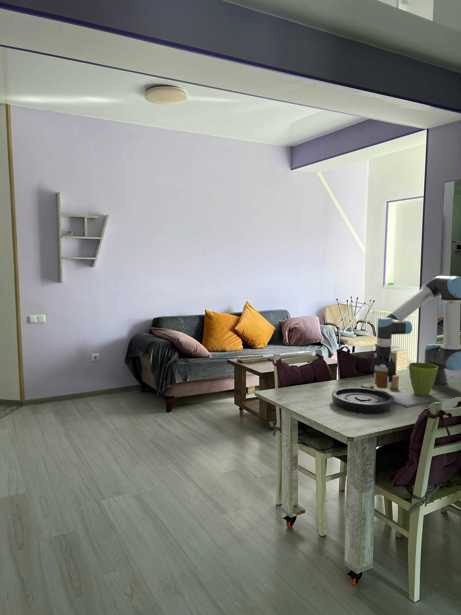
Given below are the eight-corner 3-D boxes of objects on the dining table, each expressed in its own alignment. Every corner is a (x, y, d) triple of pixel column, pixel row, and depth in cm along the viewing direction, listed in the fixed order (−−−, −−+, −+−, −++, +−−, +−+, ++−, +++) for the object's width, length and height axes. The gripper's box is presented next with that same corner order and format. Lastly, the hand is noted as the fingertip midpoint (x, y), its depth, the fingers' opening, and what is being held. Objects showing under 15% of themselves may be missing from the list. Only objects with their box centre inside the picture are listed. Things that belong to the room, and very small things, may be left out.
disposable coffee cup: (393, 386, 267) (394, 365, 266) (388, 390, 259) (389, 368, 258) (376, 383, 272) (376, 363, 271) (371, 387, 264) (372, 366, 263)
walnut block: (365, 392, 263) (365, 383, 262) (373, 394, 259) (374, 385, 259) (360, 394, 259) (360, 385, 259) (368, 396, 256) (369, 387, 255)
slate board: (402, 394, 260) (402, 392, 260) (428, 402, 247) (428, 400, 247) (380, 399, 250) (380, 397, 250) (407, 407, 237) (407, 405, 237)
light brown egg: (392, 386, 277) (393, 374, 276) (400, 388, 273) (400, 376, 272) (387, 387, 274) (387, 375, 273) (394, 389, 270) (395, 377, 269)
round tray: (368, 395, 258) (320, 400, 248) (368, 384, 258) (320, 388, 247) (406, 412, 231) (354, 418, 220) (407, 400, 230) (355, 406, 219)
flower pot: (439, 399, 253) (441, 369, 251) (409, 396, 256) (411, 367, 254) (433, 391, 268) (434, 363, 266) (405, 389, 270) (406, 361, 269)
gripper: (364, 343, 270) (363, 382, 272) (395, 349, 252) (393, 391, 255) (373, 341, 274) (371, 380, 276) (404, 347, 256) (402, 389, 259)
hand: (382, 385), depth 266 cm, fingers closed on disposable coffee cup, 8 cm apart
